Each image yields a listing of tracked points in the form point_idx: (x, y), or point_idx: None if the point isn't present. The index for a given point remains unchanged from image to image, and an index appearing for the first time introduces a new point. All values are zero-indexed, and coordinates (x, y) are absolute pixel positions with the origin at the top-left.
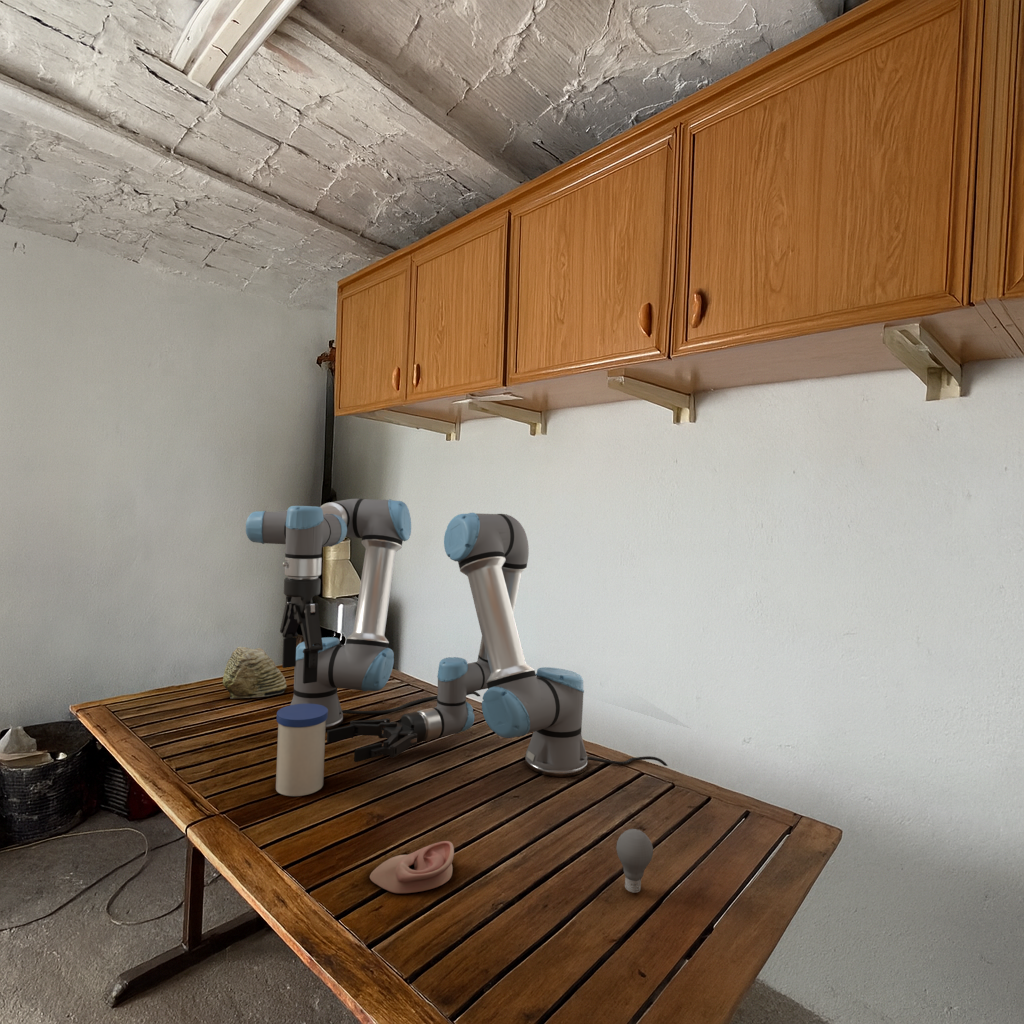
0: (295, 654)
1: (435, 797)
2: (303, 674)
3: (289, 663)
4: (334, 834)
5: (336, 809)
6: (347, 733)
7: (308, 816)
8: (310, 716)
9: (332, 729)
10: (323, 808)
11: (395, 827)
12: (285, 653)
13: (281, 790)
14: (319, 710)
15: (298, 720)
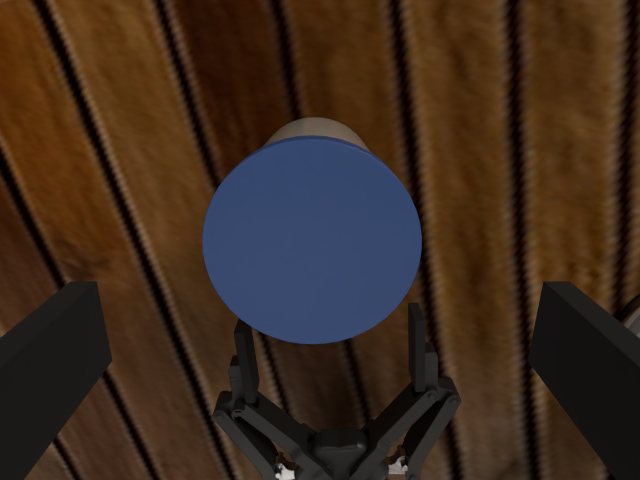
0: (578, 424)
1: (118, 394)
2: (51, 312)
3: (550, 337)
4: (38, 164)
5: (151, 209)
6: (411, 363)
7: (145, 142)
8: (231, 257)
9: (424, 335)
10: (169, 186)
11: (23, 281)
12: (611, 359)
13: (290, 123)
14: (287, 310)
15: (211, 200)
